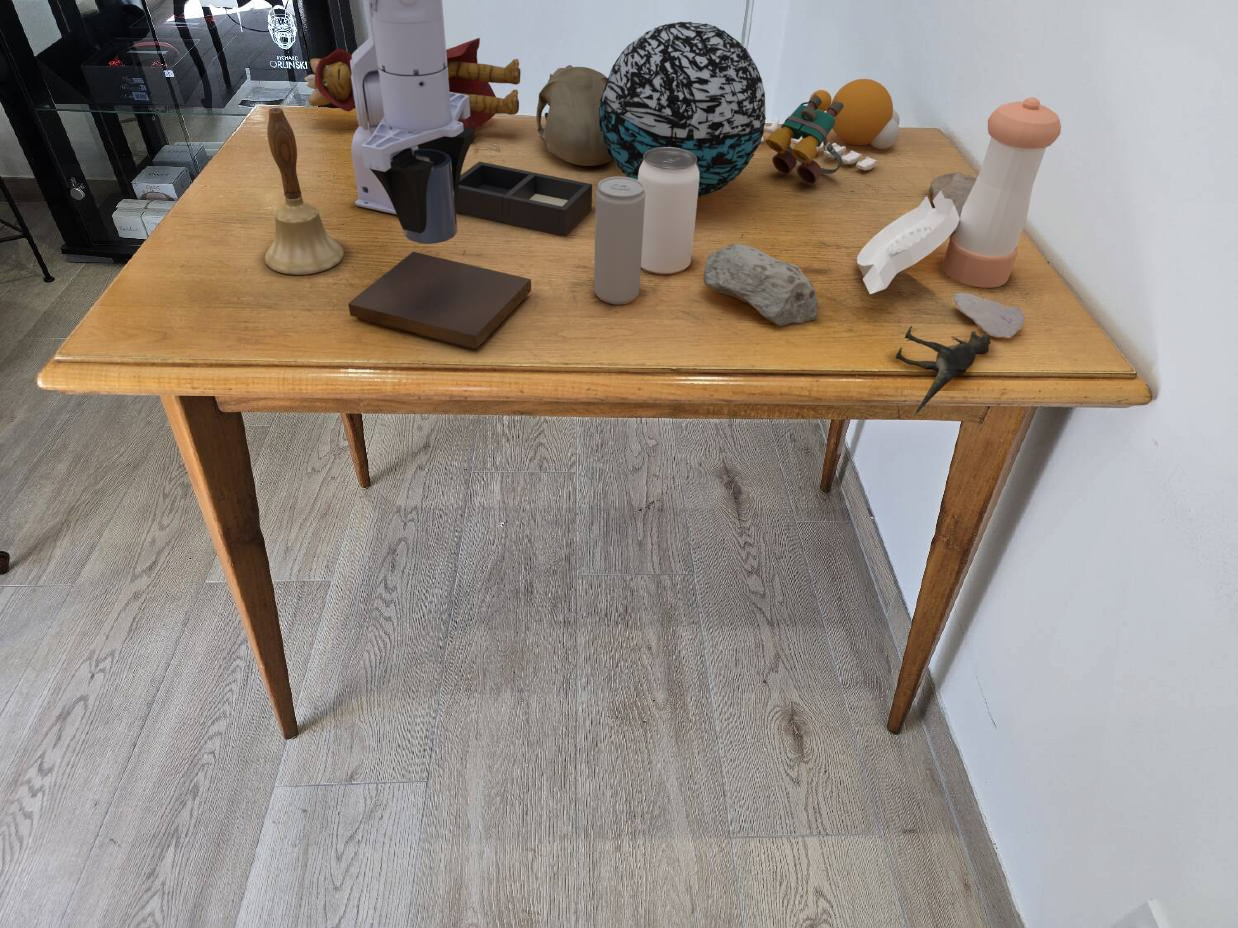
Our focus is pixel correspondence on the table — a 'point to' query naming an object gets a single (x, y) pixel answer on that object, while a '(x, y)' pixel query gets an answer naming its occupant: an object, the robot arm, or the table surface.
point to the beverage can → (618, 239)
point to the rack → (523, 198)
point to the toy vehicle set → (846, 156)
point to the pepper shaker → (1001, 194)
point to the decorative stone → (762, 283)
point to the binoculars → (805, 140)
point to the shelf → (441, 299)
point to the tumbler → (437, 199)
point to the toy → (863, 114)
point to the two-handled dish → (906, 241)
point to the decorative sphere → (685, 101)
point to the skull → (574, 116)
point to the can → (668, 209)
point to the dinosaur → (948, 360)
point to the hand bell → (296, 213)
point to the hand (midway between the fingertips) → (429, 218)
